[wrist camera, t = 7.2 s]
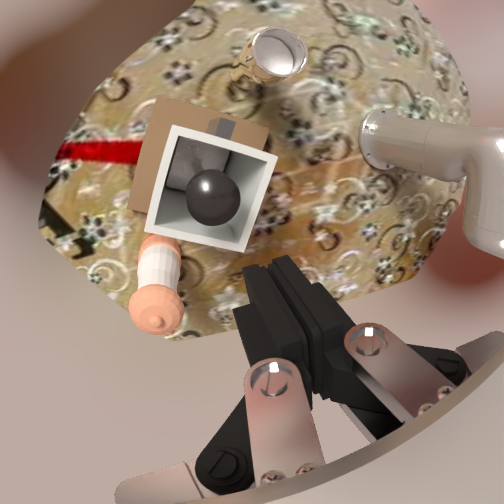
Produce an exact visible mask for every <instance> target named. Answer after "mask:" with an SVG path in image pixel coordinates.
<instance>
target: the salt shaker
mask: <svg viewBox="0 0 504 504" xmlns="http://www.w3.org/2000/svg"><path fill="white" fill-rule="evenodd" d="M180 267H181V250H180V247H179V245H178V243H177V242H176V241H175V239H174V238H172V237H167V236H163V235H158V234H155V235H152V236H149V237H148V238H147V239H146V240H144V242H143V244H142V245H141V249H140V252H139V257H138V270H137V274H138V284H139V285H138V290H137V291H136V292H135V293H134V294H133V296H132V297H131V299H130V301H129V307H128V308H129V312H130V317H131V319H132V321H133V322H134V324H135V325H136V326H137V327H139V328H140V329H141V330H142V331H145V332H146V333H149V334H154V335H162V334H166V333H169V332H171V331H172V330H174V329H175V328H176V327H178V325H179V324H180V323H181V321H182V318H183V315H184V304H183V302H182V300H181V298H180V297H179V295H178V294H177V285H178V281H179V277H180Z"/></svg>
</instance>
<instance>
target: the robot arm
mask: <svg viewBox="0 0 504 504" xmlns="http://www.w3.org/2000/svg"><path fill="white" fill-rule="evenodd" d="M359 145H360V149H361V152H362V154H363V156H364V158H365V159H366V161H367V162H368V163H369V164H370V165H372V166H373V167H375V168H378V169H381V170H388V169H391V168H393V167H395V166H398V167H401V168H404V169H407V170H411V171H414V172H417V173H420V174H423V175H426V176H429V177H432V178H435V179H438V180H441V181H444V182H453V181H456V180H459V179H461V178H463V177H465V176H466V175H467V188H466V189H467V190H466V198H465V208H464V216H463V233H464V236H465V238H466V239H467V240H468V241H469V242H470V243H471V244H472V245H473V246H475V247H477V248H479V249H481V250H483V251H485V252H487V253H490V254H493V255H495V256H497V257H500V258H503V259H504V129H503V128H499V127H481V126H465V125H457V124H450V123H443V122H436V121H429V120H421V119H413V118H403V117H399V116H398V115H397V114H396V113H395V112H393V111H391V110H389V109H382V108H381V109H375V110H372V111H371V112H369V113H368V114H367V115H366V116H365V118H364V119H363V121H362V124H361V126H360V131H359ZM268 270H269V273H268V271H267V270H266V268H265V267H264V266H262V267H259V266H258V264H254V265H251V266H247V267H244V268H242V271H243V276H244V280H245V284H246V288H247V293H248V297H249V301H250V304H248V305H245V306H241V307H238V308H234V309H232V310H233V314H234V317H235V320H236V324H237V327H238V330H239V333H240V337H241V339H242V343H243V346H244V349H245V352H246V355H247V358H248V361H249V364H250V367H251V368H250V369H249V370H248V371H247V373H246V375H245V378H244V391H245V395H244V397H243V398H242V399H241V401H240V402H239V404H238V405H237V406H236V408H235V409H234V410H233V412H232V413H231V414H230V416H229V417H228V418H227V420H226V421H225V423H224V424H223V425H222V426H221V428H220V429H219V430H218V432H217V433H216V434H215V436H214V437H213V438H212V440H211V441H210V442H209V443H208V445H207V446H206V447H205V448H204V450H203V451H202V452H201V454H200V455H199V457H198V458H197V459H196V460H193V461H191V462H188V463H185V462H181V463H178V464H175V465H173V466H170V467H167V468H164V469H161V470H158V471H155V472H151V473H148V474H145V475H142V476H138V477H135V478H131V479H128V480H126V481H123V482H121V483H120V485H119V486H118V487H117V488H116V491H115V502H116V504H504V333H503V332H500V331H494V332H490V333H488V334H486V335H484V336H482V337H480V338H478V339H475V340H473V341H471V342H469V343H466V344H464V345H461V346H459V347H457V348H456V350H455V351H451V350H447V349H439V348H432V347H424V346H417V345H411V344H406V343H404V342H403V341H402V340H401V339H399V338H398V337H397V336H396V335H395V334H393V333H392V332H391V331H390V330H388V329H387V328H386V327H384V326H382V325H379V324H376V323H362V324H359V325H356V324H355V323H354V322H353V321H352V320H351V318H350V317H349V316H348V315H347V314H346V313H345V311H344V310H343V309H342V308H341V306H340V305H339V304H338V303H337V302H336V300H335V299H334V298H333V297H332V296H331V295H330V293H329V292H328V291H327V290H326V289H325V287H324V286H323V285H322V284H321V283H319V282H317V283H314V284H311V283H310V282H309V280H308V279H307V278H306V277H305V275H304V274H303V273H302V272H301V270H300V269H299V268H298V267H297V266H296V264H295V263H294V262H293V261H292V259H291V258H290V257H289V256H288V255H285V256H282V257H278V258H275V259H273V260H272V264H269V265H268ZM312 392H313V393H314V394H317V393H319V394H320V395H321V397H322V399H323V400H325V399H327V398H330V400H331V401H333V402H337V403H339V405H340V406H341V408H342V410H343V411H344V412H345V413H346V414H347V416H348V417H349V418H350V419H351V421H352V422H353V423H354V424H355V425H356V427H357V428H358V429H359V430H360V431H361V432H362V434H363V435H364V436H365V437H366V438H367V439H368V441H369V442H370V443H371V444H370V445H368V446H366V447H364V448H362V449H360V450H358V451H356V452H354V453H351V454H349V455H347V456H345V457H343V458H340V459H338V460H336V461H334V462H331V463H329V464H325V460H324V457H323V453H322V450H321V446H320V442H319V439H318V435H317V431H316V428H315V424H314V421H313V417H312V414H311V410H312V409H313V408H312Z"/></svg>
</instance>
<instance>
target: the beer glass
mask: <svg viewBox="0 0 504 504" xmlns="http://www.w3.org/2000/svg"><path fill="white" fill-rule="evenodd" d="M307 60H308V50H307V47H306V44H305V43H304V41H303V40H302V38H301V37H300V36H299V35H298V34H297V33H295V32H294V31H292V30H290V29H287V28H284V27H269V28H266V29H264V30H262V31H261V32H259V33H258V34H257V35H255V36H254V37H253V38H252V39H250V40H249V41H248V42H247V43H246V45H245V46H244V47H243V49H242V51H241V53H240V56H239V58H238V59H236V60H235V61H234V62H233V63H232V65H231V67H230V77H231V80H232V82H233V83H234V84H235V85H236V86H237V87H239V88H241V89H244V90H254V89H257V88H259V87H261V86H262V85H271V84H276V83H279V82H282V81H284V80H287V79H288V78H290V77H292V76H293V75H296V74H298V73H299V72H300V71H302V69H303V68H304V67H305V65H306V63H307Z"/></svg>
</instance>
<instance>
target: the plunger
mask: <svg viewBox="0 0 504 504" xmlns="http://www.w3.org/2000/svg"><path fill="white" fill-rule="evenodd" d="M229 152H230V150H228V149H225V148H221V147H218V146H215V145H211V144H208V143H204V142H200V141H197V140H193V139H189V138H185V137H181V136H180V139H179V142H178V145H177V148H176V152H175V155H174V158H173V162H172V165H171V169H170V172H169V176H168V179H167V183H166V186H167V187H171V188H175V189H180V190H184V191H186V202H187V208H188V211H189V213H190V215H191V216H192V217H193V218H194V219H195V220H196V221H197V222H199V223H201V224H203V225H206V226H218V225H222V224H224V223H226V222H228V221H229V220H231V219H232V218H233V217H234V216H235V214H236V213H237V211H238V209H239V206H240V202H241V196H240V191H239V188H238V186H237V185H236V183H235V182H234V181H233V180H232V179H231V178H230V177H229V176H228V175H227V174H225V173H224V172H223V170H224V167H225V164H226V161H227V158H228V155H229Z"/></svg>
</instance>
